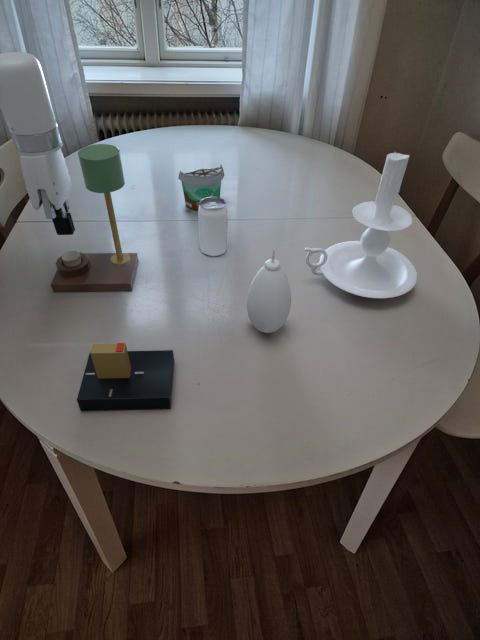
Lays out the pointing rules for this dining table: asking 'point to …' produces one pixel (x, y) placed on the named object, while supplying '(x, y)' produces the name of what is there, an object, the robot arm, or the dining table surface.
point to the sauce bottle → (269, 297)
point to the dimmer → (130, 384)
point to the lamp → (105, 184)
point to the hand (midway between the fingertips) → (66, 232)
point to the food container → (201, 185)
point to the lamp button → (71, 259)
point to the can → (212, 226)
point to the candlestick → (372, 244)
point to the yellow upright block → (111, 360)
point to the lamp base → (95, 274)
